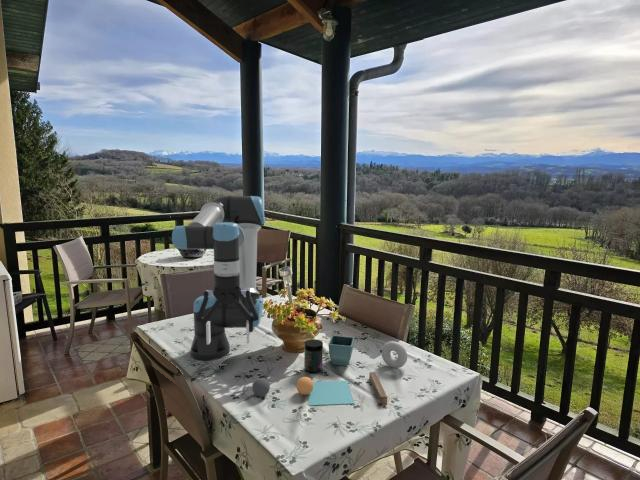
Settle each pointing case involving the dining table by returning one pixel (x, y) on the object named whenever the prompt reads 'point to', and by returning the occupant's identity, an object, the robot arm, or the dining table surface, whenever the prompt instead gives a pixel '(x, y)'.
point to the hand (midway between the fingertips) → (228, 342)
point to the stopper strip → (378, 388)
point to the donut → (398, 349)
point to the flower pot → (340, 349)
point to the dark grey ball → (261, 387)
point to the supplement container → (313, 356)
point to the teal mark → (330, 393)
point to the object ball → (304, 385)
